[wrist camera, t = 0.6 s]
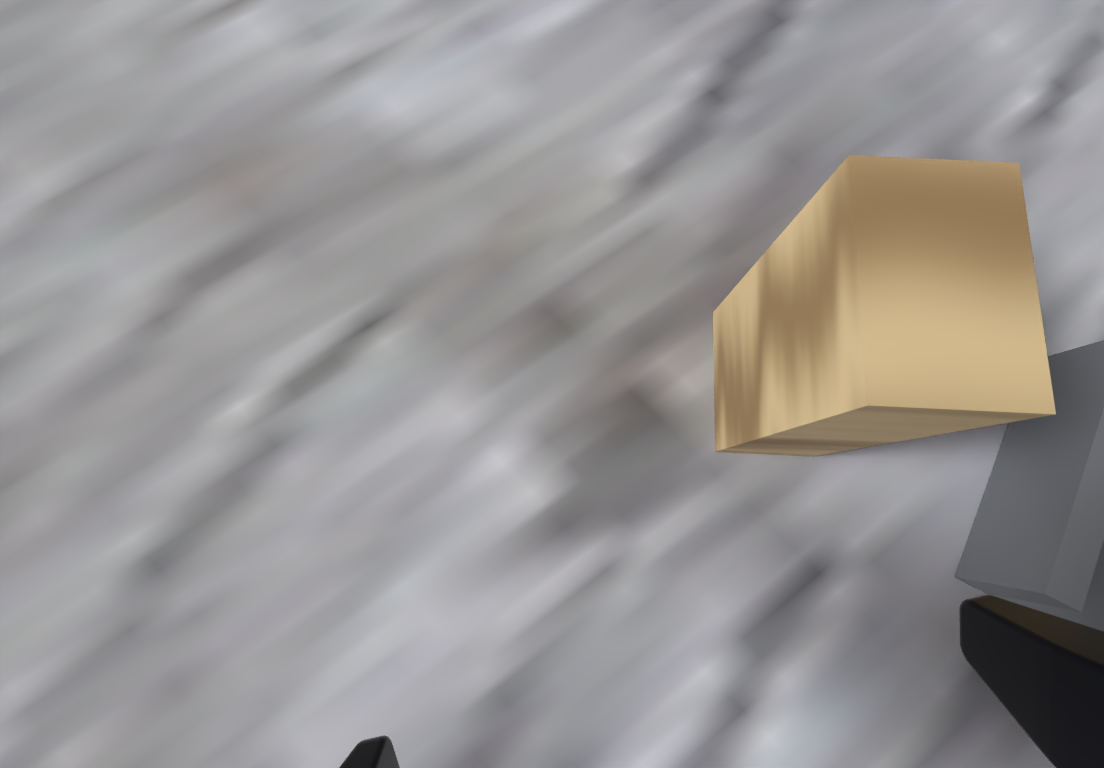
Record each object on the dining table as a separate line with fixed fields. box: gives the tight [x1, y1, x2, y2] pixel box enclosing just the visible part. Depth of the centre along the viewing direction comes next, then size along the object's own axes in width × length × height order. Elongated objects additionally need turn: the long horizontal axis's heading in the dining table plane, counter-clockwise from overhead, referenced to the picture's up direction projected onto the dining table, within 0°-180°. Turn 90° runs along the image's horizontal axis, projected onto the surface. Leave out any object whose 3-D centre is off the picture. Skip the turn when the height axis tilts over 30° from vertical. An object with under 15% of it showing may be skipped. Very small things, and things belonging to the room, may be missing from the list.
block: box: [713, 155, 1056, 456], centre depth 18 cm, size 6×4×11 cm, turn 177°
